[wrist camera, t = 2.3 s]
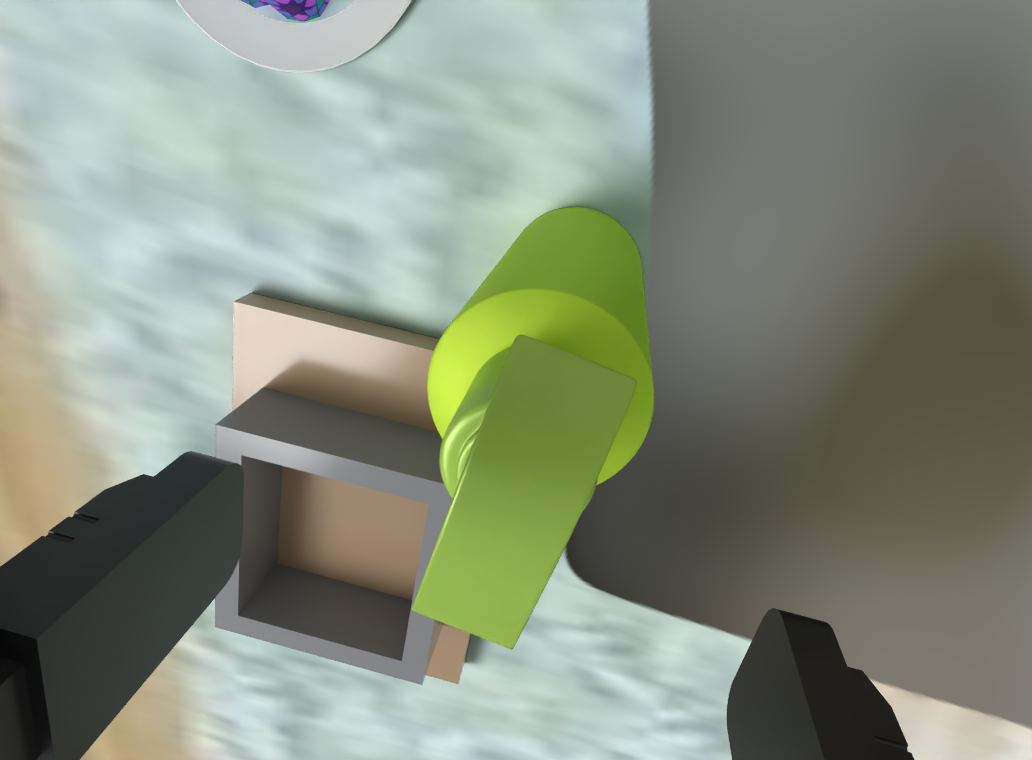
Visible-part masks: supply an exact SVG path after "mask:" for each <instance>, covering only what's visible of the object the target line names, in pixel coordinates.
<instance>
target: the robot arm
mask: <svg viewBox="0 0 1032 760" xmlns="http://www.w3.org/2000/svg"><path fill="white" fill-rule="evenodd" d="M243 498H244V472H243V469H242V467H241V465H240V464H238V463H234V462H231V461H227V460H223V459H219V458H216V457H212V456H208V455H204V454H201V453H197V452H192V451H190V452H186V453H184V454H182V455H181V456H180V457H178V458H177V459H176V460H175V461H173V462H172V463H171V464H169V465H168V466H167V467H166V468H164V469H163V470H162V471H161V472H159V473H158V474H157V475H155V476H154V477H152V476H148V475H145V474H143V475H140V476H138V477H135V478H133V479H130V480H128V481H125V482H123V483H120V484H118V485H115V486H113V487H110V488H108V489H105V490H104V491H102V492H101V493H100V494H98V495H97V496H96V497H94V498H93V499H92V500H90V501H89V502H88V503H86V504H85V505H83V506H82V507H81V508H79V509H78V510H77V511H75V513H74V516H73V517H67V518H66V519H64V520H63V521H62V522H60V523H59V524H58V525H56V526H55V527H54V528H52V529H51V530H50V531H49V533H48V535H47V536H46V537H45V536H41V537H40V538H39V539H37V540H36V541H35V542H33V543H32V544H31V545H29V546H28V547H27V548H25V549H24V550H22V551H21V552H20V553H18V554H17V555H16V556H14V557H13V558H12V559H10V560H9V561H8V562H6V563H5V564H3V565H2V566H1V567H0V760H80V758H81V757H82V756H83V755H84V754H85V752H86V751H87V750H88V749H89V748H90V747H91V745H92V744H93V743H94V742H95V741H96V739H97V738H98V737H99V736H100V735H101V733H102V732H103V731H104V730H105V729H106V727H107V726H108V725H109V724H110V723H111V721H112V720H113V719H114V718H115V717H116V715H117V714H118V713H119V712H120V711H121V709H122V708H123V707H124V706H125V705H126V704H127V702H128V701H129V700H130V699H131V698H132V696H133V695H134V694H135V693H136V692H137V690H138V689H139V688H140V687H141V686H142V684H143V683H144V682H145V681H146V680H147V678H148V677H149V676H150V675H151V674H152V672H153V671H154V670H155V669H156V668H157V666H158V665H159V664H160V663H161V662H162V661H163V659H164V658H165V657H166V656H167V655H168V653H169V652H170V651H171V650H172V649H173V647H174V646H175V645H176V644H177V643H178V641H179V640H180V639H181V638H182V637H183V635H184V634H185V633H186V632H187V631H188V629H189V628H190V627H191V626H192V625H193V624H194V622H195V621H196V620H197V619H198V618H199V616H200V615H201V614H202V613H203V612H204V610H205V609H206V608H207V607H208V606H209V604H210V603H211V602H212V601H213V600H214V598H215V597H216V596H217V595H218V594H219V592H220V591H221V590H222V589H223V588H224V586H225V585H226V584H227V582H228V581H229V579H230V578H231V576H232V574H233V572H234V570H235V568H236V566H237V563H238V560H239V557H240V554H241V549H242V536H243ZM727 729H728V735H729V742H730V748H731V755H732V760H914V758H913V756H912V753H910V752H908V751H907V746H908V744H907V742H906V739H905V737H904V735H903V732H902V730H901V728H900V726H899V723H898V721H897V719H896V716H895V714H894V712H893V709H892V707H891V706H890V705H889V703H888V702H887V701H886V700H885V698H884V697H883V696H882V695H881V693H880V692H879V691H878V690H877V688H876V687H875V686H874V685H873V683H872V682H871V681H870V680H869V678H868V677H867V676H866V675H865V674H864V672H863V671H861V670H858V669H854V668H850V667H847V665H846V662H845V659H844V657H843V654H842V652H841V649H840V647H839V644H838V641H837V639H836V636H835V634H834V631H833V629H832V628H831V626H830V625H829V624H828V623H826V622H824V621H820V620H816V619H812V618H808V617H805V616H801V615H797V614H793V613H790V612H786V611H782V610H778V609H775V608H773V609H770V610H769V611H768V612H767V613H766V614H765V616H764V617H763V619H762V621H761V623H760V625H759V628H758V630H757V632H756V634H755V636H754V638H753V640H752V642H751V644H750V646H749V648H748V651H747V653H746V655H745V657H744V659H743V661H742V663H741V665H740V667H739V669H738V672H737V674H736V676H735V678H734V680H733V683H732V685H731V689H730V693H729V698H728V705H727Z"/></svg>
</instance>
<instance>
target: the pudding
mask: <svg viewBox="0 0 1032 760" xmlns="http://www.w3.org/2000/svg"><path fill="white" fill-rule="evenodd" d="M176 1H177V3H178V4H179V5H180V6H181V8H182V9H183V10H184V11H185V13H186V14H187V15H188V16H189V17H190V19H191V20H192V21H193V22H194V23H195V24H196V25H197V26H198V27H199V28H200V29H201V30H203V31H204V32H205V33H206V34H207V35H208V36H209V37H210V38H211V39H212V40H213V41H215V42H216V43H218V44H219V45H221V46H222V47H224V48H225V49H227V50H228V51H230V52H231V53H233V54H234V55H236V56H238V57H240V58H242V59H245V60H247V61H249V62H251V63H254V64H256V65H258V66H261V67H266V68H270V69H274V70H278V71H282V72H304V73H308V72H314V71H320V70H326V69H331V68H334V67H336V66H339V65H341V64H344V63H346V62H349V61H351V60H354V59H355V58H357V57H358V56H360V55H361V54H363V53H364V52H366V51H367V50H369V49H370V48H372V47H373V46H375V45H376V44H377V43H378V42H379V41H380V40H381V39H382V38H383V37H384V36H385V35H386V34H387V33H388V32H389V31H390V30H391V29H392V28H393V27H394V26H395V24H396V23H397V21H398V20H399V18H400V17H401V16H402V14H403V13H404V11H405V10H406V8H407V7H408V6H409V4H410V2H411V0H354V1H353V2H352V3H351V4H350V5H348V6H347V7H345V8H344V9H343V10H341V11H340V12H338V13H337V14H334V15H332V16H330V17H327V18H325V19H323V20H319V21H313V22H308V23H287V22H283V21H278V20H274V19H270V18H268V17H266V16H263V15H261V14H259V13H257V12H254V11H253V10H251V9H250V8H248V7H247V6H245V5H244V4H242V3H241V2H239V1H238V0H176ZM241 1H243V2H245V3H247V4H249V5H251V6H253V7H255V8H257V7H261V6H265V5H269V4H270V5H271V6H272V7H274V8H275V9H276V10H277V11H279V12H280V13H281V14H282V15H284V16H285V17H286V18H287V19H292V20H298V21H304V22H305V21H308V20H311V19H314V18H317V17H320V16H321V14H322V12H323V11H324V9H325V7H326V5H327V4H328V2H329V0H241Z"/></svg>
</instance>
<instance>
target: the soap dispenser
mask: <svg viewBox="0 0 1032 760" xmlns="http://www.w3.org/2000/svg"><path fill="white" fill-rule="evenodd" d="M427 393H428V402H429V407H430V411H431V415H432V418H433V421H434V423H435V426H436V428H437V430H438V432H439V434H440V436H441V437H442V439H443V440H442V443H441V448H440V456H439V464H440V472H441V476H442V480H443V482H444V485H445V487H446V489H447V491H448V493H449V495H450V496H451V498H452V501H451V504H450V507H449V509H448V512H447V515H446V517H445V520H444V523H443V525H442V528H441V531H440V533H439V536H438V539H437V541H436V544H435V547H434V549H433V552H432V555H431V557H430V560H429V563H428V566H427V568H426V571H425V574H424V576H423V579H422V582H421V584H420V587H419V590H418V592H417V595H416V598H415V601H414V603H413V606H412V611H414V612H417V613H419V614H422V615H424V616H427V617H430V618H432V619H435V620H437V621H440V622H442V623H445V624H447V625H450V626H453V627H455V628H458V629H460V630H463V631H465V632H468V633H470V634H473V635H476V636H478V637H481V638H483V639H486V640H488V641H491V642H493V643H496V644H499V645H501V646H504V647H506V648H509V649H513V648H514V646H515V644H516V642H517V640H518V638H519V636H520V634H521V633H522V631H523V629H524V627H525V625H526V623H527V621H528V619H529V617H530V615H531V613H532V612H533V610H534V608H535V606H536V604H537V602H538V600H539V598H540V596H541V594H542V592H543V590H544V588H545V586H546V584H547V583H548V581H549V579H550V577H551V575H552V573H553V571H554V569H555V567H556V565H557V563H558V561H559V559H560V557H561V555H562V553H563V551H564V549H565V546H566V545H567V543H568V540H569V538H570V536H571V534H572V532H573V530H574V528H575V526H576V524H577V522H578V520H579V518H580V515H581V513H582V511H583V510H584V509H585V508H586V506H587V505H588V503H589V502H590V500H591V497H592V495H593V493H594V491H595V488H596V485H598V484H600V483H602V482H604V481H606V480H607V479H609V478H610V477H612V476H613V475H615V474H616V473H617V472H618V471H620V469H622V468H623V467H624V466H625V465H626V464H627V463H628V462H629V461H630V460H631V459H632V457H633V456H634V455H635V454H636V452H637V451H638V449H639V448H640V446H641V444H642V443H643V441H644V439H645V437H646V434H647V432H648V429H649V426H650V423H651V419H652V414H653V406H654V388H653V377H652V366H651V357H650V345H649V335H648V325H647V314H646V303H645V293H644V282H643V272H642V263H641V258H640V254H639V251H638V249H637V246H636V244H635V242H634V240H633V239H632V237H631V236H630V234H629V233H628V232H627V231H626V229H625V228H624V227H623V226H622V225H621V224H620V223H618V222H617V221H616V220H614V219H613V218H611V217H610V216H608V215H606V214H604V213H602V212H600V211H597V210H594V209H590V208H584V207H566V208H561V209H556V210H553V211H550V212H548V213H546V214H544V215H542V216H540V217H539V218H537V219H536V220H534V221H533V222H532V223H531V224H529V225H528V226H527V227H526V228H525V229H524V231H523V232H522V233H521V234H520V236H519V237H518V238H517V239H516V241H515V242H514V243H513V245H512V246H511V247H510V248H509V250H508V251H507V252H506V254H505V255H504V256H503V257H502V259H501V260H500V261H499V262H498V264H497V265H496V266H495V268H494V269H493V270H492V271H491V273H490V274H489V275H488V277H487V278H486V279H485V280H484V282H483V283H482V284H481V285H480V287H479V288H478V289H477V291H476V292H475V293H474V294H473V296H472V297H471V298H470V300H469V301H468V302H467V303H466V305H465V306H464V307H463V309H462V310H461V311H460V312H459V314H458V315H457V316H456V317H455V319H454V320H453V321H452V323H451V324H450V325H449V326H448V328H447V329H446V330H445V332H444V333H443V335H442V336H441V338H440V340H439V342H438V343H437V345H436V348H435V350H434V352H433V355H432V358H431V362H430V366H429V371H428V379H427Z"/></svg>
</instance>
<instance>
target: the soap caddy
mask: <svg viewBox="0 0 1032 760" xmlns="http://www.w3.org/2000/svg"><path fill="white" fill-rule="evenodd" d="M439 340H440V339H437V338H433V337H429V336H425V335H421V334H417V333H413V332H408V331H404V330H400V329H396V328H392V327H388V326H384V325H380V324H376V323H372V322H368V321H364V320H360V319H356V318H351V317H347V316H343V315H339V314H335V313H331V312H327V311H323V310H319V309H315V308H311V307H307V306H303V305H298V304H294V303H290V302H286V301H282V300H278V299H274V298H270V297H266V296H262V295H258V294H254V293H249V294H248V295H246V296H244V297H242V298H240V299H238V300H236V301H234V322H233V393H232V412H231V413H230V414H228V415H227V416H226V417H225V418H223V419H222V420H221V421H220V422H218V423H217V424H216V456H215V457H216V458H219V459H223V460H227V461H231V462H234V463H238V464H240V465H241V467H242V469H243V472H244V498H243V536H242V549H241V554H240V557H239V560H238V563H237V566H236V568H235V570H234V572H233V574H232V576H231V578H230V579H229V581H228V582H227V584H226V585H225V586H224V588H223V589H222V590H221V591H220V592H219V594H218V595H217V596H216V597H215V627H217V628H220V629H224V630H228V631H231V632H235V633H238V634H242V635H246V636H249V637H253V638H256V639H260V640H263V641H267V642H271V643H274V644H278V645H281V646H285V647H288V648H292V649H296V650H299V651H303V652H306V653H310V654H314V655H317V656H321V657H324V658H328V659H331V660H335V661H339V662H342V663H346V664H349V665H353V666H356V667H360V668H364V669H367V670H371V671H374V672H378V673H382V674H385V675H389V676H392V677H396V678H399V679H403V680H407V681H410V682H414V683H417V684H421V685H422V684H423V681H424V678H425V675H428V676H431V677H435V678H438V679H442V680H446V681H449V682H453V683H456V684H458V683H459V680H460V676H461V673H462V669H463V666H464V662H465V658H466V653H467V649H468V645H469V640H470V636H471V634H470V633H468V632H465V631H463V630H460V629H458V628H455V627H453V626H450V625H447V624H445V623H442V622H440V621H437V620H435V619H432V618H430V617H427V616H424V615H422V614H419V613H417V612H414V611H412V606H413V603H414V601H415V598H416V595H417V592H418V590H419V587H420V584H421V582H422V579H423V576H424V574H425V571H426V568H427V566H428V563H429V560H430V557H431V555H432V552H433V549H434V547H435V544H436V541H437V539H438V536H439V533H440V531H441V528H442V525H443V523H444V520H445V517H446V515H447V512H448V509H449V507H450V504H451V501H452V498H451V496H450V495H449V493H448V491H447V489H446V487H445V485H444V482H443V480H442V476H441V472H440V464H439V456H440V448H441V443H442V440H443V439H442V437H441V436H440V434H439V432H438V430H437V428H436V426H435V423H434V421H433V418H432V415H431V411H430V407H429V402H428V393H427V379H428V371H429V366H430V362H431V358H432V355H433V352H434V350H435V348H436V345H437V343H438V342H439Z"/></svg>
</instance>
